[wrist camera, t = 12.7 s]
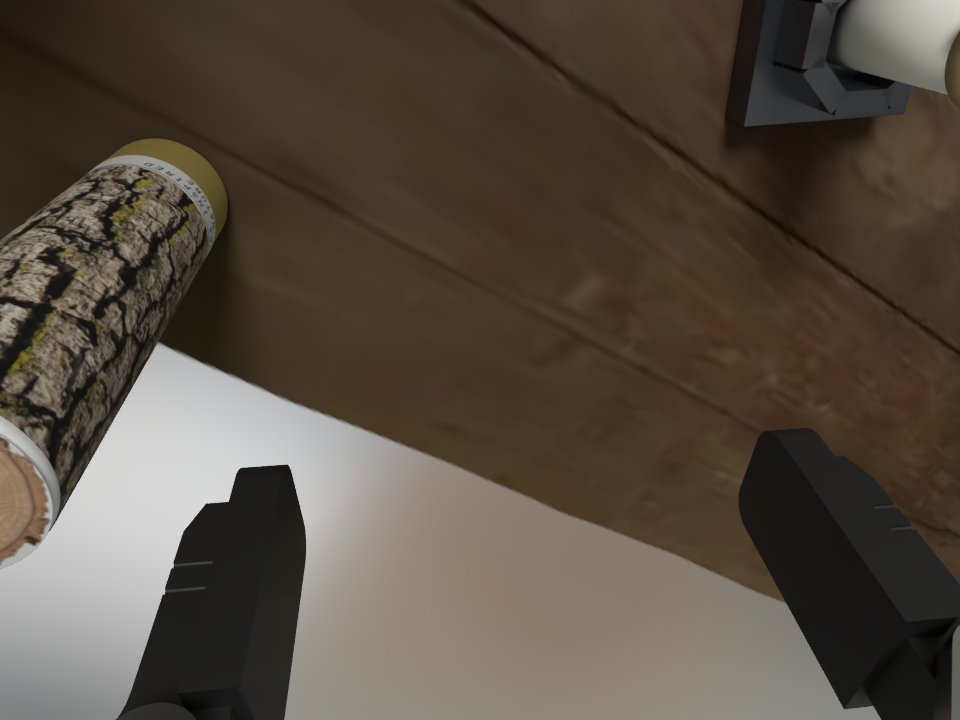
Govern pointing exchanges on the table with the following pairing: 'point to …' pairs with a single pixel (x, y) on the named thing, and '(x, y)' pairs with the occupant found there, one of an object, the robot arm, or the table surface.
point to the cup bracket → (800, 69)
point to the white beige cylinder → (901, 42)
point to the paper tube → (90, 316)
